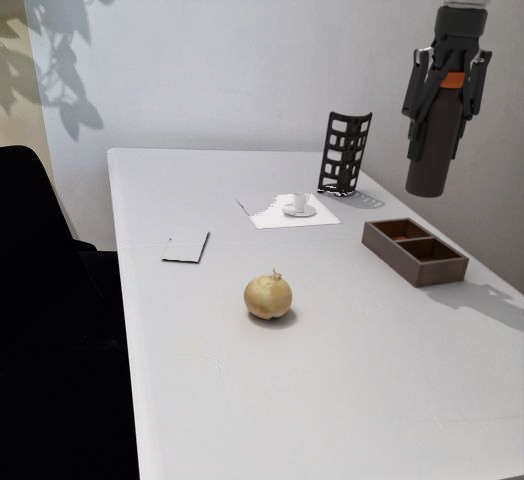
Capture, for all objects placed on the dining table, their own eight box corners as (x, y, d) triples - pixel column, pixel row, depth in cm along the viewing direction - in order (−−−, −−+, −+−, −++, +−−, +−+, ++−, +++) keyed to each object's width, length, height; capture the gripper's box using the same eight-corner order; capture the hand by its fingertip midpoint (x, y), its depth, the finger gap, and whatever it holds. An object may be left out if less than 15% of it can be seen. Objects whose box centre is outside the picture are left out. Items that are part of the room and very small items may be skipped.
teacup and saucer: (284, 219, 128) (286, 201, 126) (274, 206, 134) (275, 189, 132) (320, 216, 130) (322, 199, 128) (308, 204, 137) (310, 187, 134)
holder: (347, 183, 150) (362, 105, 137) (363, 195, 145) (380, 116, 132) (312, 188, 146) (324, 108, 133) (327, 201, 141) (341, 119, 128)
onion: (287, 328, 90) (291, 289, 86) (238, 321, 91) (240, 282, 87) (293, 303, 97) (296, 266, 93) (247, 298, 98) (249, 260, 94)
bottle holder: (404, 237, 123) (409, 217, 121) (463, 280, 107) (469, 258, 105) (361, 242, 120) (364, 221, 117) (415, 287, 104) (420, 265, 101)
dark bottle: (443, 189, 105) (471, 70, 93) (441, 200, 99) (471, 76, 88) (406, 183, 106) (429, 66, 95) (402, 195, 101) (427, 71, 89)
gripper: (498, 5, 92) (463, 149, 105) (395, 1, 86) (371, 155, 99) (531, 10, 87) (489, 161, 100) (423, 6, 80) (394, 168, 93)
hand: (430, 158), depth 99 cm, fingers closed on dark bottle, 7 cm apart
